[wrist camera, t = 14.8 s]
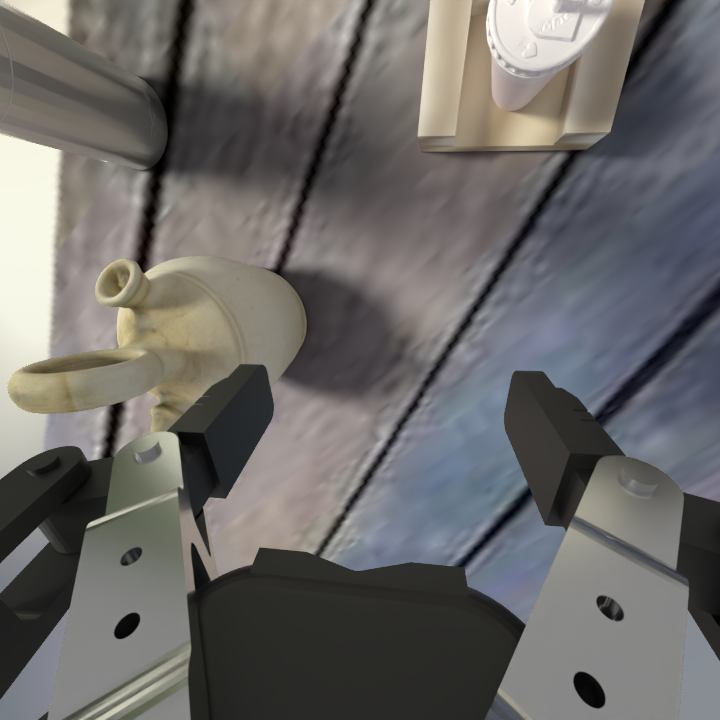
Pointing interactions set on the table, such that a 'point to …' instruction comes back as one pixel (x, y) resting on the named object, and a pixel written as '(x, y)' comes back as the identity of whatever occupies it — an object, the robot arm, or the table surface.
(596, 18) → the white cup with straw
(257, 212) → the table surface
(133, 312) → the jug
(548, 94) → the notched board
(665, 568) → the robot arm
